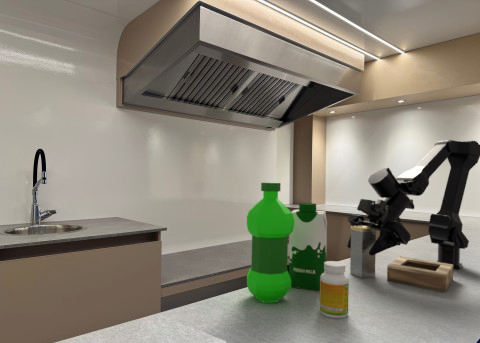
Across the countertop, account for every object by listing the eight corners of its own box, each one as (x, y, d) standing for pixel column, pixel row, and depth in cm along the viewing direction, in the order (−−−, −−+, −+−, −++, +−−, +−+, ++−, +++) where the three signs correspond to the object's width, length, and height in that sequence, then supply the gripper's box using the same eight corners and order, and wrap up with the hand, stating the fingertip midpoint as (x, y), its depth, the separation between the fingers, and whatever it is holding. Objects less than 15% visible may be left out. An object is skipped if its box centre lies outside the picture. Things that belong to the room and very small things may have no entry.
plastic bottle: (300, 296, 74) (302, 183, 74) (275, 311, 66) (278, 183, 66) (262, 286, 80) (264, 181, 80) (235, 299, 72) (237, 182, 72)
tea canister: (363, 271, 94) (364, 225, 95) (375, 276, 90) (376, 228, 90) (349, 273, 93) (350, 226, 93) (361, 278, 88) (362, 228, 88)
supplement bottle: (349, 320, 62) (350, 268, 63) (319, 317, 64) (321, 266, 64) (346, 309, 68) (347, 261, 68) (319, 306, 69) (320, 259, 69)
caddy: (400, 270, 97) (400, 256, 97) (452, 279, 89) (453, 264, 89) (387, 280, 87) (387, 265, 87) (445, 292, 79) (445, 275, 79)
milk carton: (285, 288, 80) (287, 203, 80) (292, 277, 88) (294, 200, 88) (323, 293, 77) (325, 205, 77) (327, 281, 85) (328, 202, 85)
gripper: (352, 187, 102) (321, 225, 98) (403, 191, 84) (367, 237, 80) (372, 213, 105) (343, 250, 100) (425, 221, 87) (391, 267, 83)
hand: (358, 250), depth 91 cm, fingers open, 8 cm apart
